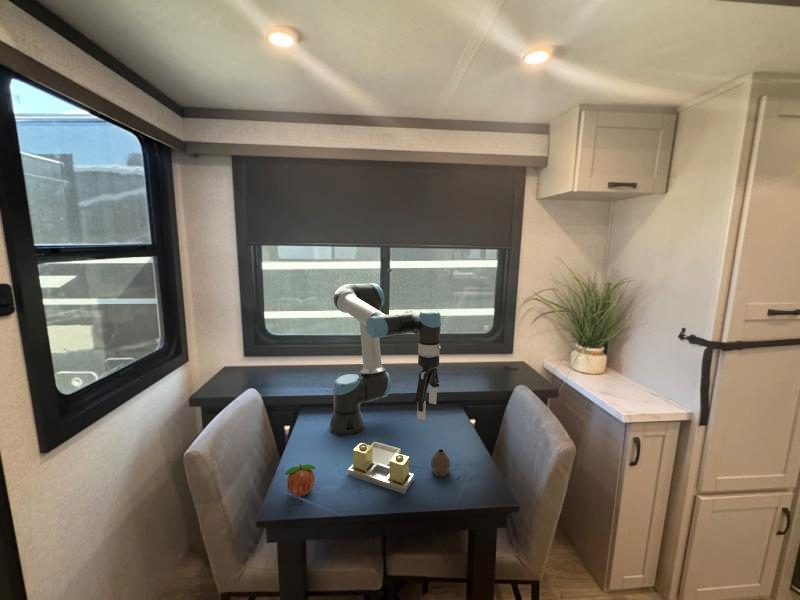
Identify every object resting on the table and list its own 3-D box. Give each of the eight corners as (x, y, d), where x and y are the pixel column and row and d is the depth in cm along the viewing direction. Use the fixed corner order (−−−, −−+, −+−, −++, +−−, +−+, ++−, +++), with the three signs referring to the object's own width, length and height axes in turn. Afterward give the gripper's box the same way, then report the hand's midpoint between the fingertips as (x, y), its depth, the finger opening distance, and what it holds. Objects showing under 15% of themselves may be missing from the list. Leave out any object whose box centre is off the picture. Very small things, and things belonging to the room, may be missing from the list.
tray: (358, 461, 130) (358, 456, 130) (374, 445, 141) (374, 441, 140) (387, 470, 125) (387, 465, 125) (400, 453, 136) (400, 448, 135)
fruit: (315, 500, 109) (314, 471, 108) (284, 504, 107) (283, 474, 106) (316, 482, 118) (315, 455, 116) (287, 485, 116) (286, 458, 114)
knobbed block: (389, 485, 116) (389, 459, 115) (395, 476, 121) (396, 451, 119) (402, 489, 114) (403, 463, 113) (408, 480, 119) (409, 455, 117)
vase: (444, 482, 119) (445, 458, 118) (427, 475, 123) (428, 452, 121) (452, 471, 125) (453, 449, 124) (435, 465, 128) (436, 443, 127)
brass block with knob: (353, 473, 122) (353, 448, 121) (360, 465, 127) (360, 441, 125) (365, 477, 120) (365, 451, 119) (372, 469, 125) (372, 444, 123)
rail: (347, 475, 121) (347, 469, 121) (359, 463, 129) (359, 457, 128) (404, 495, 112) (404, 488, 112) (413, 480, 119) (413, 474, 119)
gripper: (428, 366, 109) (426, 429, 112) (447, 346, 132) (445, 399, 135) (406, 363, 112) (404, 424, 115) (429, 344, 135) (427, 396, 137)
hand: (427, 410), depth 125 cm, fingers open, 13 cm apart
